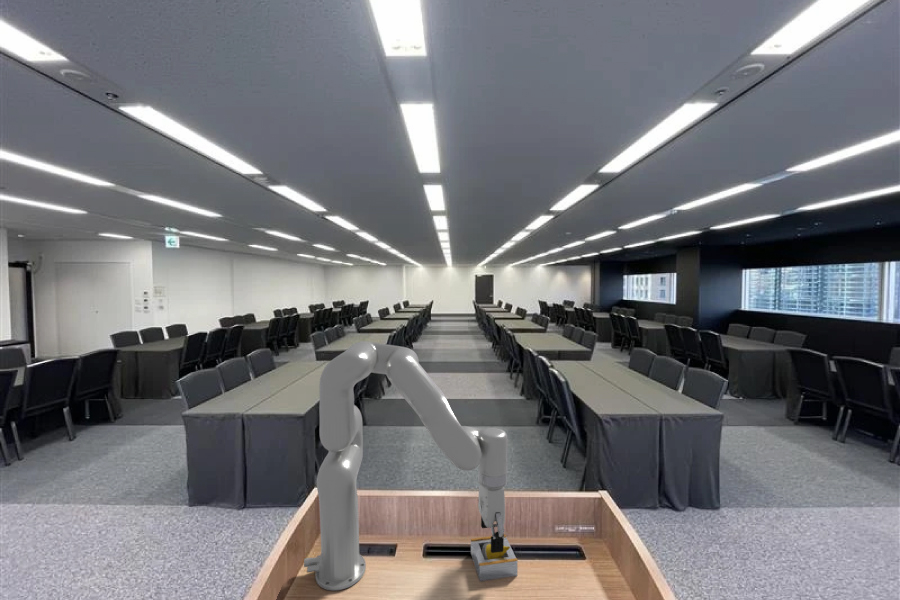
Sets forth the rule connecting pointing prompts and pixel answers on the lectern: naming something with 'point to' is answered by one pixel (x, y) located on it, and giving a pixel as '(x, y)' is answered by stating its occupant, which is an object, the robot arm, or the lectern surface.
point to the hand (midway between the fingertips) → (491, 538)
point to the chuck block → (493, 561)
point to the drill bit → (488, 554)
